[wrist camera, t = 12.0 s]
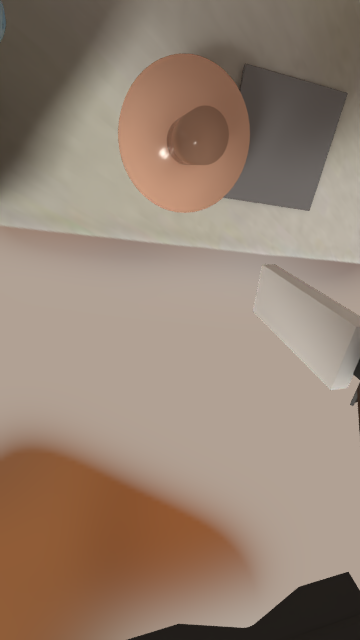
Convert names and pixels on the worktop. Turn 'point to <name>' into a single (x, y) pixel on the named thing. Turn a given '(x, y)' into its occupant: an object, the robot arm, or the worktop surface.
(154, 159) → the lid
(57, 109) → the worktop surface
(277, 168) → the mat
